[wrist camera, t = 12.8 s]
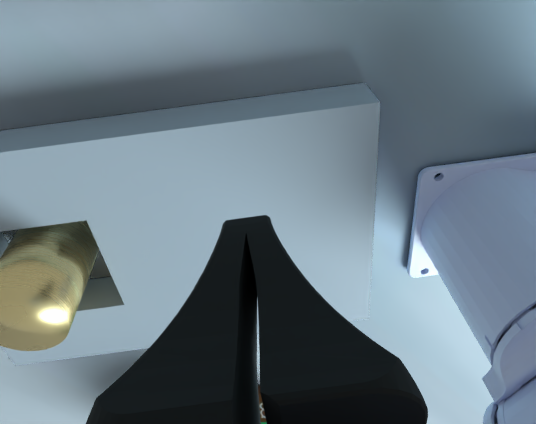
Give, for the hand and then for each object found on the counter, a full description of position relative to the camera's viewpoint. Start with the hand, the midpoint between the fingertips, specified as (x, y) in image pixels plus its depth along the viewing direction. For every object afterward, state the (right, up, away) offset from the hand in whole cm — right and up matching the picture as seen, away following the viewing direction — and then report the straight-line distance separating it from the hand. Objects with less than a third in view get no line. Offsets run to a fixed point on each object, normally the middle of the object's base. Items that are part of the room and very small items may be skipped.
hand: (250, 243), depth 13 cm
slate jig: (-5, 0, +11) cm, 12 cm away
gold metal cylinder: (-11, -1, +11) cm, 16 cm away
